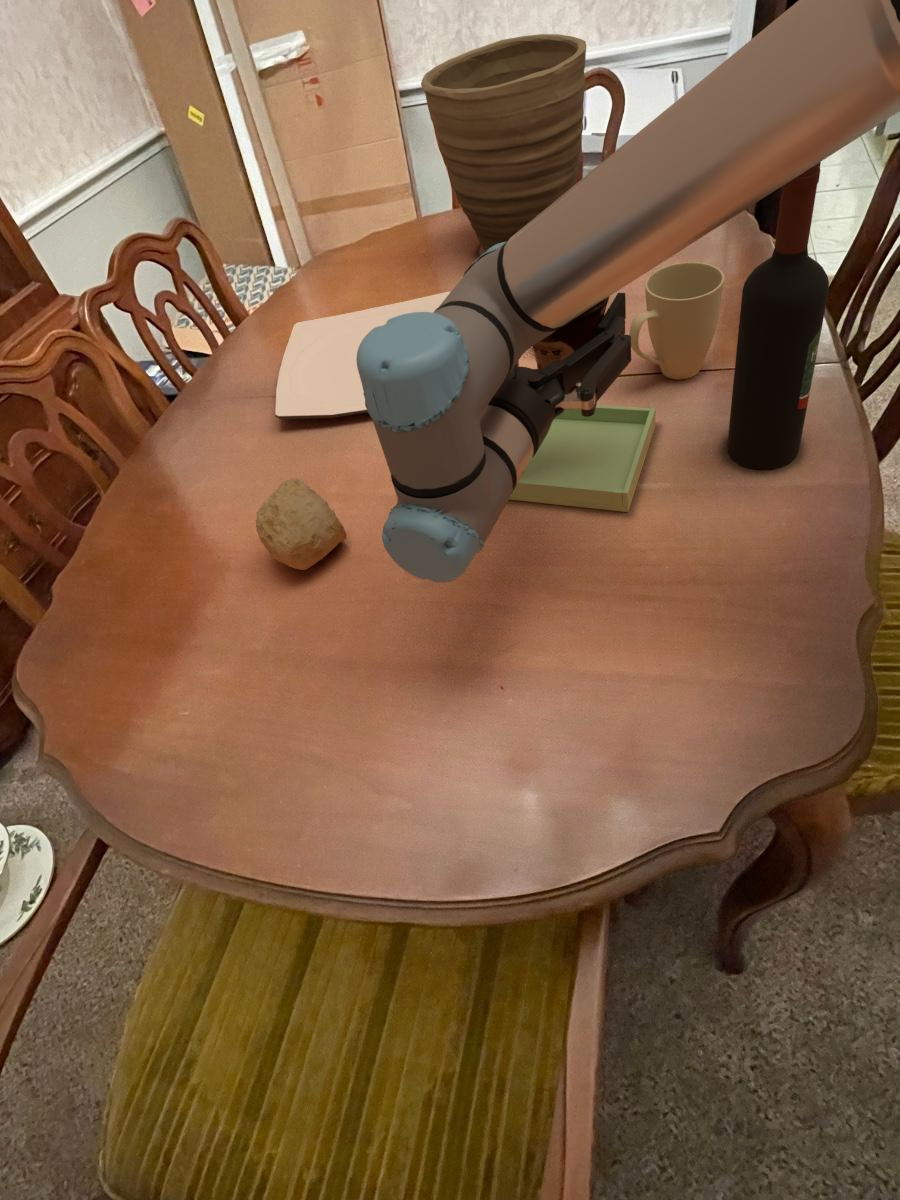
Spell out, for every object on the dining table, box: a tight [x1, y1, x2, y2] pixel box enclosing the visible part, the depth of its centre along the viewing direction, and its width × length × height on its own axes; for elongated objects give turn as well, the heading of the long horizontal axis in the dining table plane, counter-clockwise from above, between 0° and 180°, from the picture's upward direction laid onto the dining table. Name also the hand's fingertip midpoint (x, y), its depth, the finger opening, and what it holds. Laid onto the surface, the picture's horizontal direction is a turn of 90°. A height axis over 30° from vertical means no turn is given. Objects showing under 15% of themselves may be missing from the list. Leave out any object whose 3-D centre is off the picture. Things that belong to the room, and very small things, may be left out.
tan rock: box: [255, 477, 347, 571], centre depth 85 cm, size 10×10×10 cm
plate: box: [274, 291, 451, 420], centre depth 112 cm, size 29×29×3 cm
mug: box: [628, 261, 725, 380], centre depth 93 cm, size 11×10×12 cm
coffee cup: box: [532, 295, 611, 393], centre depth 77 cm, size 9×8×13 cm
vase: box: [420, 33, 587, 257], centre depth 120 cm, size 24×24×30 cm
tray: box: [508, 404, 657, 513], centre depth 89 cm, size 15×15×3 cm
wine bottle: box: [726, 161, 830, 471], centre depth 74 cm, size 8×8×30 cm
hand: (582, 303), depth 79 cm, fingers closed on coffee cup, 8 cm apart
